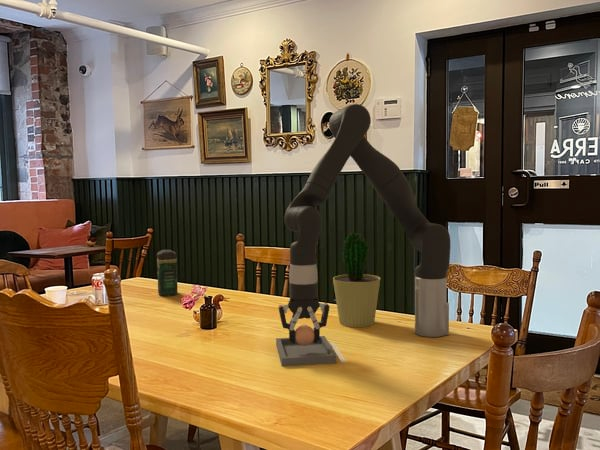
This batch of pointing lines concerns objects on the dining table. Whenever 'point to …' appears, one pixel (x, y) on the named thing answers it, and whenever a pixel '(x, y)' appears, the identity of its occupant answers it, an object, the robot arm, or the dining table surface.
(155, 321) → the dining table surface
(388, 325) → the dining table surface
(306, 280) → the robot arm
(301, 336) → the ball
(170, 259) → the coffee jar
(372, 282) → the potted cactus
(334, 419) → the dining table surface
